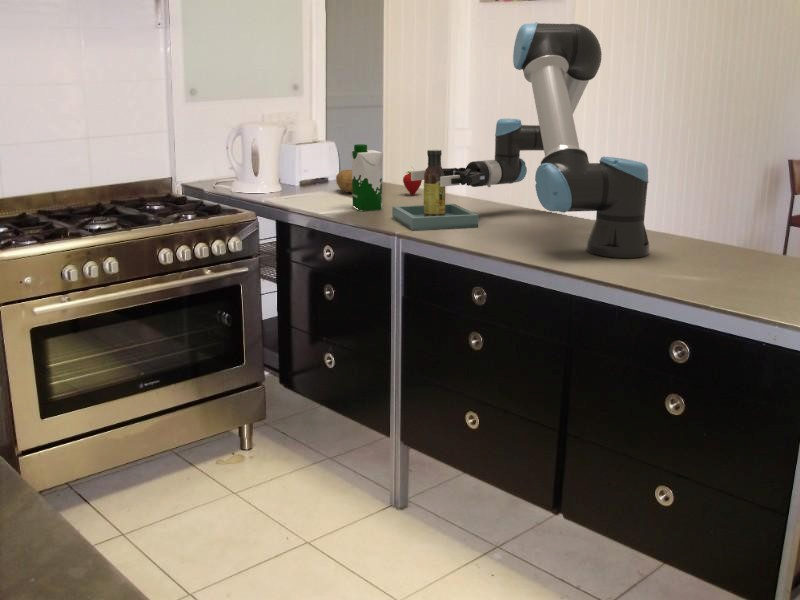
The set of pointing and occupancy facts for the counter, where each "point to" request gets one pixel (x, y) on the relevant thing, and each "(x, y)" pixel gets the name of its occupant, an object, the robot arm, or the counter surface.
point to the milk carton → (366, 178)
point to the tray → (434, 218)
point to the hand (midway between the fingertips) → (426, 178)
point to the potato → (345, 180)
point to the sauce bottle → (434, 186)
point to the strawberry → (411, 183)
